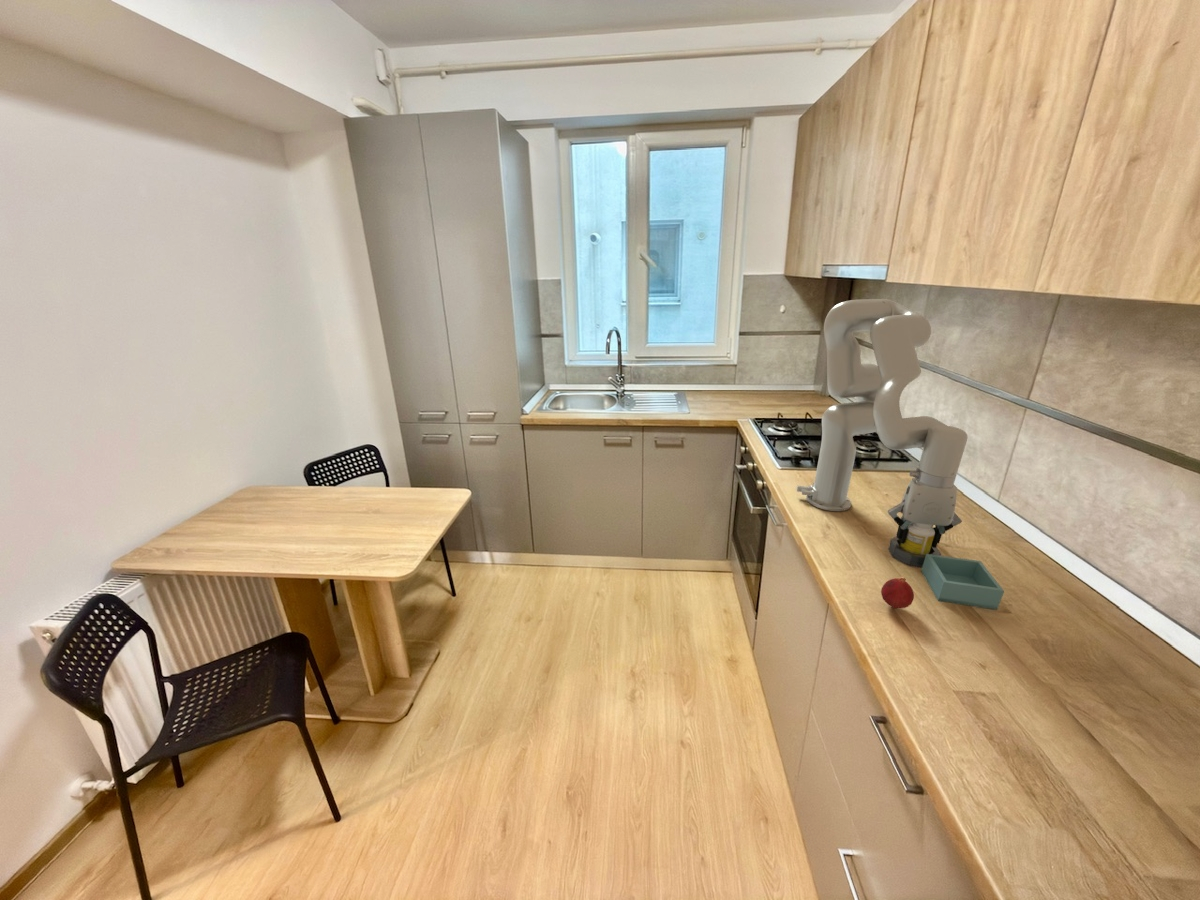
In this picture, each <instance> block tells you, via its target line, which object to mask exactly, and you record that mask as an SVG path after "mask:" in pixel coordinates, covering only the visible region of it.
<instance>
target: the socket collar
mask: <svg viewBox="0 0 1200 900" xmlns="http://www.w3.org/2000/svg"><path fill="white" fill-rule="evenodd" d="M900 545H901V542H900V541H899V539H898V538H897V535H896V536H894V537H891V538H890V541H889V545H888V549H887V550H888V551H889V553H890V555H891V558H893V559H895V560H897V561H898V562H900V563H902V564H904V565H906V566H908V567H912V568H920V569H922V567H923V563H924V560H925V557H926V555H921V554H913V553H911V552H909V551H907V550H905V549H903V548H901V547H900ZM929 554H932V555H939V556H942V552H941V551H940V550H939V548H938V546H937V547H936V548H933V547H932V546H931V549H930V552H929Z"/></svg>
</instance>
